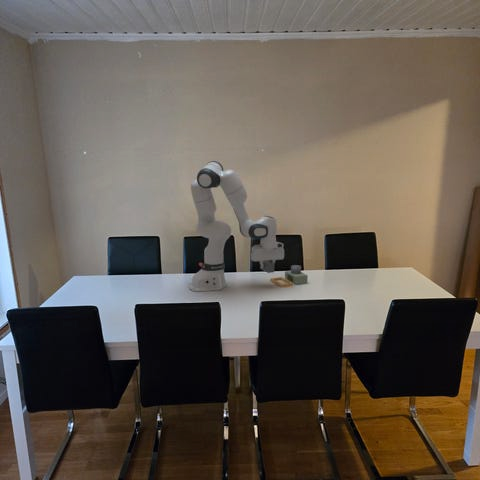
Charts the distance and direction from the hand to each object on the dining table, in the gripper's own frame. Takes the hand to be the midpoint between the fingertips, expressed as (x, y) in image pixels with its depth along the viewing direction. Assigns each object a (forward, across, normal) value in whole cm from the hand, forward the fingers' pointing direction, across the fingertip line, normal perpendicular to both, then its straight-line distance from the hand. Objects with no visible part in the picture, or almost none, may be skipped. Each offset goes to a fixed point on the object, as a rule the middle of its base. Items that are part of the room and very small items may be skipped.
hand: (267, 267), depth 221 cm
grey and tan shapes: (+11, +15, +2) cm, 18 cm away
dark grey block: (+2, 0, 0) cm, 2 cm away
